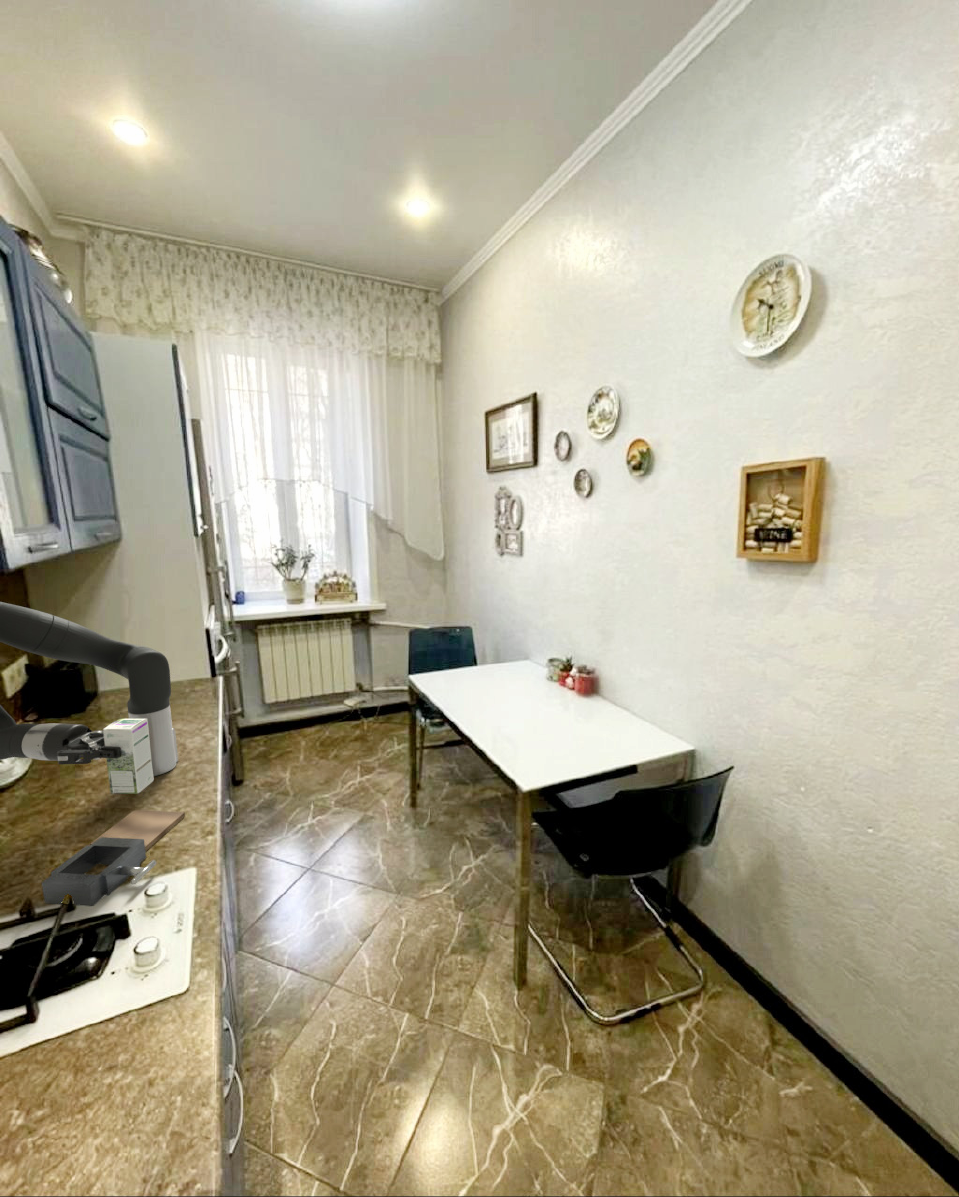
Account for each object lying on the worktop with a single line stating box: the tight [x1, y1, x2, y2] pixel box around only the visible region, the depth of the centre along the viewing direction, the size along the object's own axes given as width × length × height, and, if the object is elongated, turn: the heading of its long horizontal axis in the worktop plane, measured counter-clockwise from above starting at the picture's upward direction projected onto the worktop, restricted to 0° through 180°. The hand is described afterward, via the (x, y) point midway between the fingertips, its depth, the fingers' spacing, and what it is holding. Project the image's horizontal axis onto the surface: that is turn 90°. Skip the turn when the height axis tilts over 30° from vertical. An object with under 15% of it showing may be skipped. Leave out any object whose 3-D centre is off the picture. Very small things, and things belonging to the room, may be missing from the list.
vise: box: [41, 837, 157, 907], centre depth 92 cm, size 12×15×4 cm
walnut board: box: [89, 809, 186, 852], centre depth 107 cm, size 12×12×1 cm
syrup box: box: [102, 718, 155, 795], centre depth 104 cm, size 6×6×14 cm
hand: (132, 745), depth 103 cm, fingers closed on syrup box, 6 cm apart
